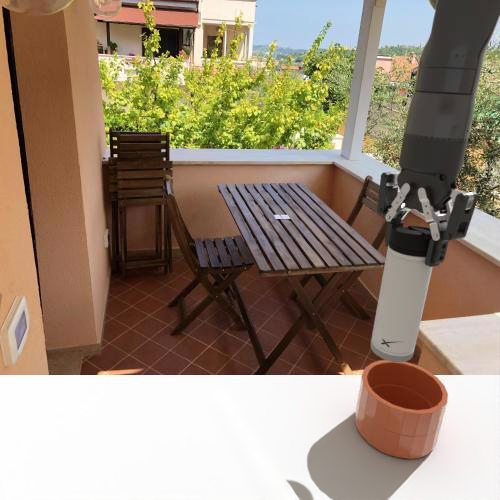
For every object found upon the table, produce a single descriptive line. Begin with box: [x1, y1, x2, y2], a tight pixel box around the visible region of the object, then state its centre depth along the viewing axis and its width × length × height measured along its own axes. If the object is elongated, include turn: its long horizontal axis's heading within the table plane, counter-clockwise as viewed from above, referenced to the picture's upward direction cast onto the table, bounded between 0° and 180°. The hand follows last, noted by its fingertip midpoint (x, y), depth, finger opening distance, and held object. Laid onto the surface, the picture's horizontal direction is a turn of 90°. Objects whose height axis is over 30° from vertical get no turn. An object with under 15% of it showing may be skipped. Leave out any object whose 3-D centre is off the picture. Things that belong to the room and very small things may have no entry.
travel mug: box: [370, 225, 434, 362], centre depth 61 cm, size 6×7×20 cm
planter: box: [354, 359, 449, 460], centre depth 69 cm, size 13×13×9 cm
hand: (410, 255), depth 59 cm, fingers closed on travel mug, 6 cm apart
